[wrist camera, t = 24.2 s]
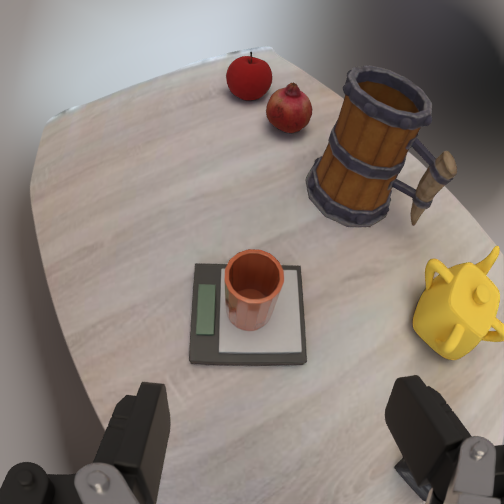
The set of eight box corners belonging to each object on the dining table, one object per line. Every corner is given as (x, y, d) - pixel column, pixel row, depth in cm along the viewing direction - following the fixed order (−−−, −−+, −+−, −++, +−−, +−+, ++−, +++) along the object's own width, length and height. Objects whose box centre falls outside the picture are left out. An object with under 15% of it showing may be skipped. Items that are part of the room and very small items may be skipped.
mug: (424, 210, 49) (483, 125, 32) (389, 266, 43) (463, 174, 26) (336, 146, 55) (366, 51, 37) (286, 188, 49) (310, 76, 32)
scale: (191, 363, 36) (188, 359, 33) (196, 271, 41) (194, 260, 39) (302, 364, 36) (308, 360, 34) (297, 273, 42) (301, 262, 40)
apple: (216, 95, 60) (216, 54, 52) (243, 79, 64) (245, 41, 56) (252, 112, 58) (256, 68, 49) (278, 94, 62) (284, 53, 53)
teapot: (398, 272, 43) (433, 234, 34) (463, 275, 43) (501, 243, 34) (409, 367, 36) (455, 348, 27) (477, 359, 37) (524, 338, 28)
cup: (225, 330, 35) (223, 302, 27) (226, 287, 37) (225, 248, 30) (272, 331, 35) (285, 303, 27) (271, 288, 38) (282, 250, 30)
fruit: (314, 126, 57) (325, 83, 48) (296, 148, 54) (306, 102, 45) (276, 110, 59) (282, 67, 50) (255, 131, 55) (259, 85, 47)
